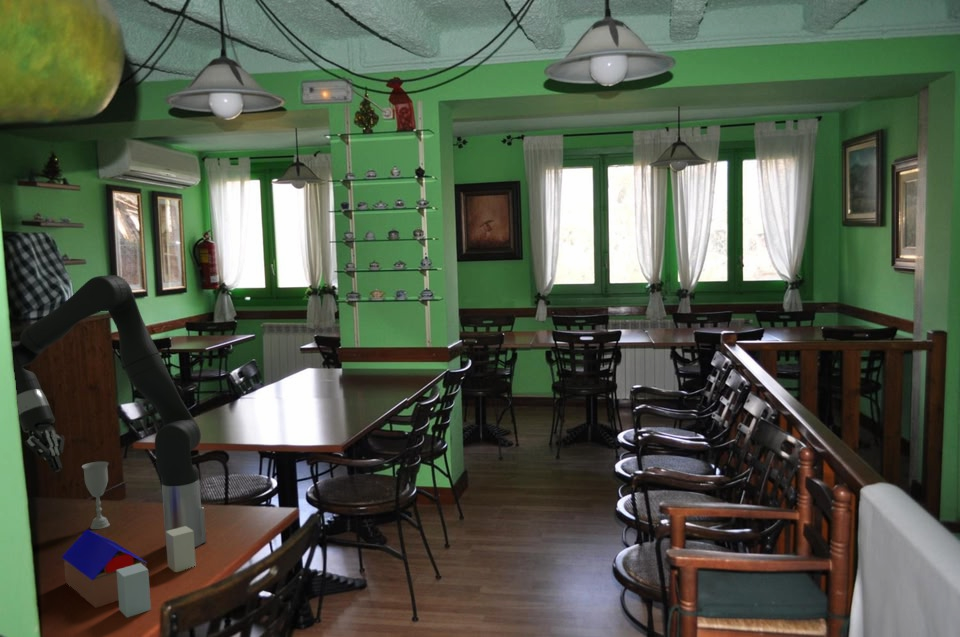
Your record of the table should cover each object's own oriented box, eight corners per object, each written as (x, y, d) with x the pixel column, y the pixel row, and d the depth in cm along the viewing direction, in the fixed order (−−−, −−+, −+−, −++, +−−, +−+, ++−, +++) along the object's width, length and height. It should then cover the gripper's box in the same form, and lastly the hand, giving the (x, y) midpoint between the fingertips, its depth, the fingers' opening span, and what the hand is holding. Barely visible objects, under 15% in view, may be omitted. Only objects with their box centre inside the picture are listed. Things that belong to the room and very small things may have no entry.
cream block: (188, 560, 189) (185, 525, 188) (195, 566, 185) (193, 530, 184) (168, 566, 185) (165, 531, 185) (175, 572, 182) (172, 536, 181)
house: (116, 567, 186) (112, 522, 185) (150, 590, 172) (146, 541, 171) (63, 584, 178) (59, 536, 177) (94, 609, 164) (90, 558, 163)
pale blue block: (143, 602, 166) (140, 562, 166) (151, 609, 163) (148, 569, 162) (119, 609, 163) (116, 569, 162) (126, 617, 159) (123, 576, 158)
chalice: (118, 524, 217) (113, 463, 216) (95, 532, 211) (90, 469, 210) (104, 520, 221) (99, 460, 219) (81, 527, 215) (76, 466, 214)
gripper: (28, 403, 189) (53, 466, 187) (62, 404, 202) (86, 462, 200) (2, 417, 189) (27, 479, 187) (37, 416, 202) (61, 475, 200)
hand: (57, 470), depth 193 cm, fingers closed
